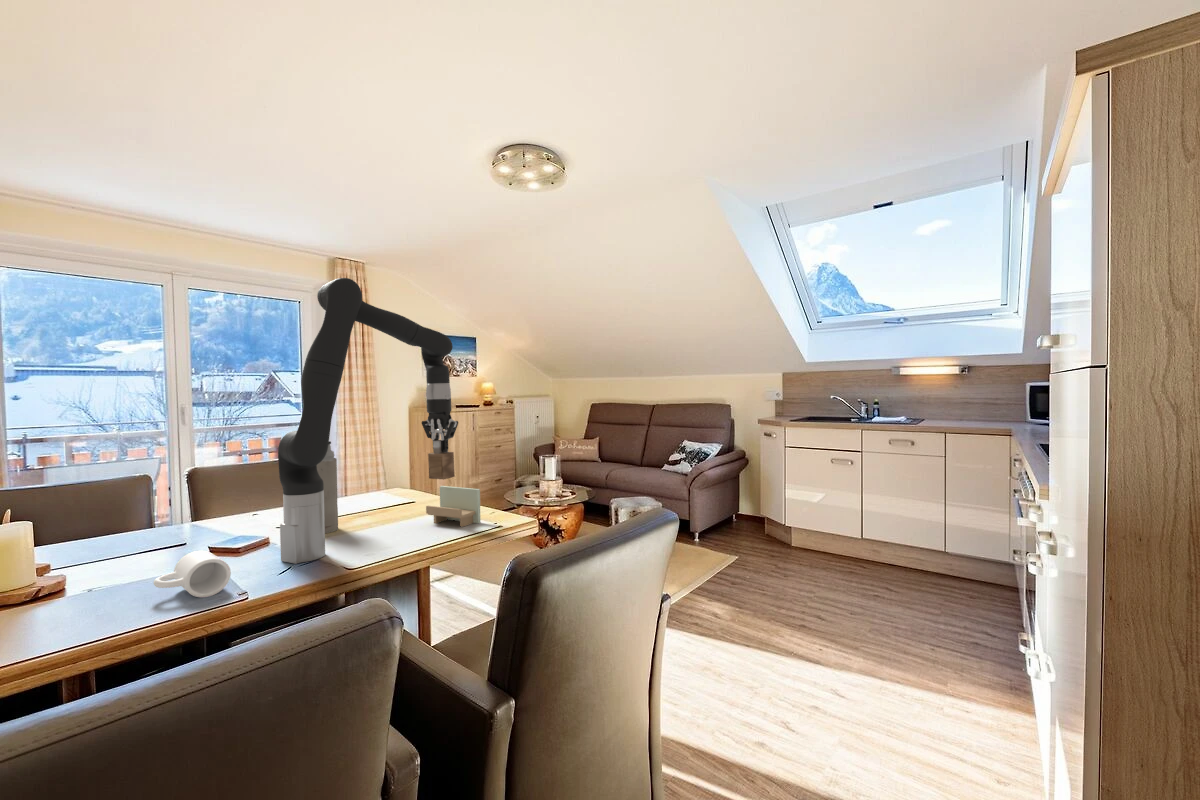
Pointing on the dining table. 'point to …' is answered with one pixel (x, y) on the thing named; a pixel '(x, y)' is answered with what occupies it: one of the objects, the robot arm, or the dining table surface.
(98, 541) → the dining table surface
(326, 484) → the thermos bottle
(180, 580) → the mug
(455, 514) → the small display stand
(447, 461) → the brown box
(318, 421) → the robot arm
